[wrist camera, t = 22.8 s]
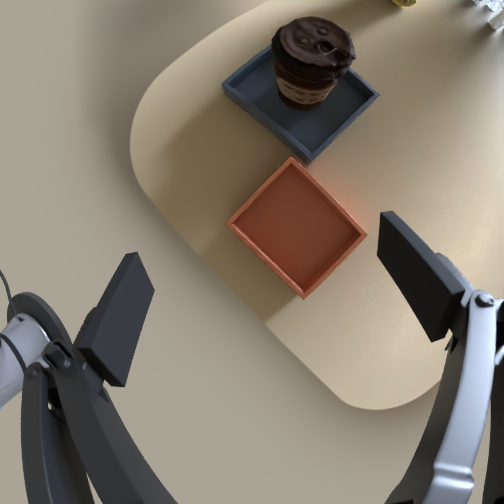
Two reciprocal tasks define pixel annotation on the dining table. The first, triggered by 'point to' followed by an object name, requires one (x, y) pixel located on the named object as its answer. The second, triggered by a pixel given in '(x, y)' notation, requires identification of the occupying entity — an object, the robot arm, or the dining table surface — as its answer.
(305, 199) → the terracotta tray
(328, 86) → the labeled brown jar
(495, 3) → the stool
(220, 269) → the dining table surface
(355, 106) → the slate tray
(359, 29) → the dining table surface
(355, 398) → the dining table surface
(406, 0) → the hamburger
